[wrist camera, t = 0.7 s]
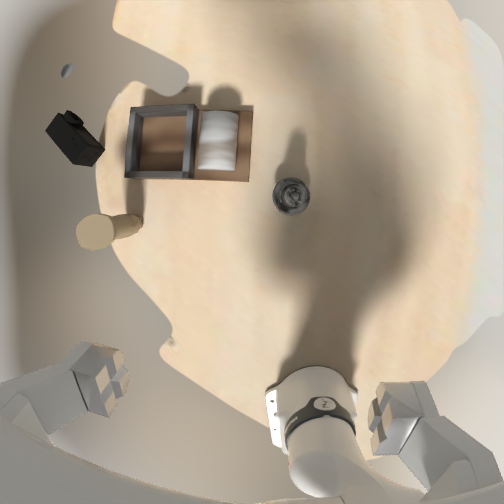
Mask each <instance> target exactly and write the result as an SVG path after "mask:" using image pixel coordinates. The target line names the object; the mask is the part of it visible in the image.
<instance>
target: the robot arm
mask: <svg viewBox="0 0 504 504" xmlns="http://www.w3.org/2000/svg"><path fill="white" fill-rule="evenodd" d="M124 361H125V358H124V354H123V352H122V351H121V350H118V349H115V348H111V347H107V346H104V345H100V344H97V343H92V342H89V341H86V340H84V341H81V342H80V343H79V344H78V345H77V346H76V347H75V348H74V349H73V350H72V351H71V352H70V353H69V354H68V355H67V356H66V357H65V358H64V359H63V360H62V361H61V362H60V364H59V365H58V366H57V365H51V366H49V367H46V368H43V369H40V370H37V371H35V372H32V373H29V374H26V375H23V376H20V377H17V378H14V379H11V380H8V381H5V382H2V383H1V384H0V504H241V503H235V502H228V501H222V500H217V499H212V498H206V497H201V496H197V495H192V494H188V493H183V492H179V491H175V490H171V489H168V488H164V487H160V486H157V485H153V484H150V483H147V482H143V481H140V480H137V479H134V478H131V477H128V476H125V475H122V474H119V473H117V472H114V471H111V470H108V469H106V468H103V467H101V466H98V465H96V464H93V463H91V462H88V461H86V460H84V459H81V458H79V457H77V456H75V455H72V454H70V453H68V452H66V451H64V450H62V449H60V448H57V447H55V446H54V444H53V443H52V441H51V440H50V438H49V436H48V435H49V434H51V433H53V432H54V431H56V430H58V429H60V428H61V427H63V426H65V425H66V424H68V423H70V422H72V421H74V420H75V419H77V418H79V417H80V416H82V415H84V414H86V413H87V412H88V411H90V412H93V413H96V414H99V415H102V416H105V417H110V415H111V414H112V412H113V411H114V409H115V407H116V406H117V400H116V399H117V398H119V397H122V396H123V395H124V393H125V392H126V390H127V387H128V383H129V375H128V370H127V369H126V368H125V367H124V365H123V362H124ZM376 395H377V398H376V399H374V400H373V401H372V402H371V405H370V408H369V413H368V427H369V430H371V431H372V432H373V435H372V437H371V446H372V452H373V456H379V455H398V457H399V458H400V459H401V460H402V461H403V463H404V464H405V465H406V466H407V467H408V469H409V470H410V471H411V472H412V473H413V474H414V476H415V477H416V478H417V479H418V480H419V481H420V483H421V484H422V485H423V486H424V487H425V488H426V489H427V491H428V492H427V493H426V494H424V493H423V492H422V491H421V490H419V489H414V488H409V487H406V486H403V485H400V484H398V483H395V482H393V481H391V480H389V479H388V478H386V477H384V476H383V475H381V474H380V473H379V472H377V471H376V470H375V469H374V468H373V467H372V466H371V465H370V464H368V462H367V461H366V460H365V458H364V457H363V455H362V453H361V450H360V448H359V446H358V443H357V441H356V438H355V436H356V431H355V424H354V420H355V418H357V413H356V409H355V403H356V401H357V398H358V395H357V392H356V391H355V390H353V389H352V388H350V387H349V386H348V385H347V383H346V382H345V380H344V378H343V377H342V376H341V375H340V374H339V373H338V372H336V371H334V370H332V369H330V368H326V367H319V366H314V367H307V368H303V369H300V370H298V371H296V372H294V373H292V374H290V375H289V376H288V377H287V378H285V379H284V381H283V382H282V383H281V384H279V385H278V386H276V387H274V388H271V389H269V390H268V391H267V392H266V393H265V397H266V404H267V410H268V417H269V424H270V430H271V437H272V442H273V444H274V445H276V446H278V447H281V448H282V452H283V453H285V454H287V455H289V463H288V464H289V473H290V477H291V478H292V480H293V482H294V483H295V485H296V486H297V487H298V488H299V489H300V490H302V491H303V492H305V493H307V494H309V495H311V496H314V497H317V498H296V499H281V500H274V501H268V502H261V503H254V504H504V481H503V479H502V476H501V473H500V471H499V468H498V465H497V463H496V460H495V458H494V455H493V453H492V452H491V451H490V450H489V449H487V448H486V447H484V446H483V445H482V444H480V443H479V442H478V441H476V440H475V439H474V438H472V437H471V436H470V435H468V434H467V433H466V432H464V431H463V430H462V429H460V428H459V427H458V426H456V425H455V424H454V423H452V422H451V421H450V420H448V419H447V418H446V417H445V416H440V415H439V413H438V411H437V408H436V405H435V403H434V400H433V398H432V395H431V393H430V391H429V388H428V386H427V383H426V382H425V381H411V382H380V384H379V385H378V387H377V389H376ZM271 399H273V401H271Z"/></svg>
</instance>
